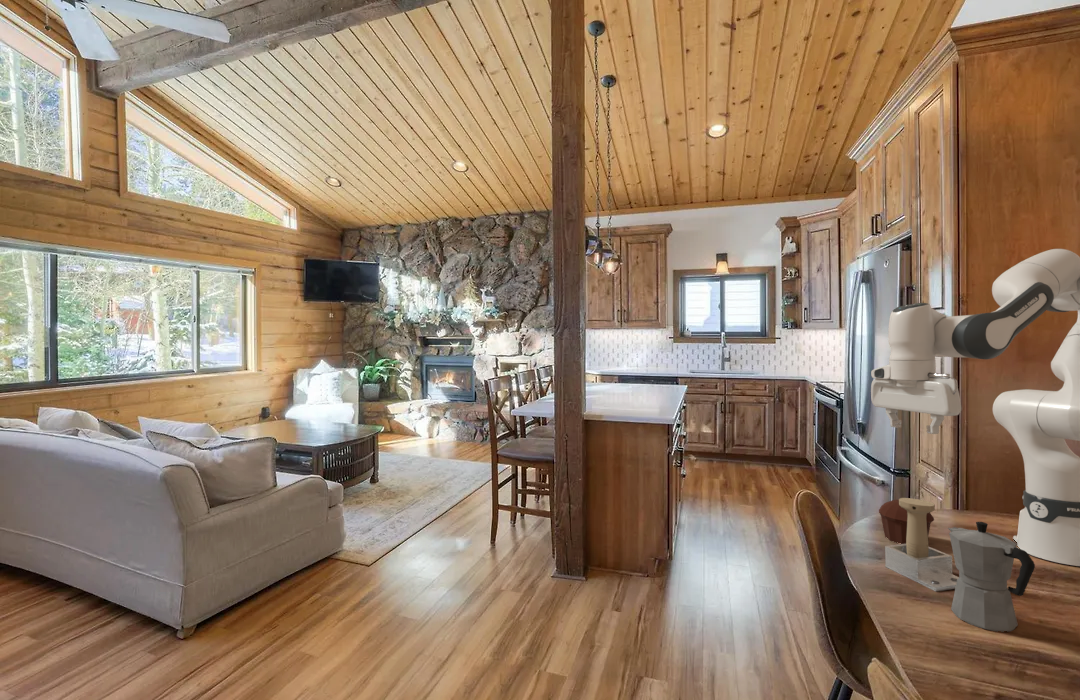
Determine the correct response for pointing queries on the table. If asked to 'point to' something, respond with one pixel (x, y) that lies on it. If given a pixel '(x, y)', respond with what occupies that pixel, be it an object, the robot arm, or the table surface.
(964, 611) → the coffeepot
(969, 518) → the table surface
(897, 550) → the flanged open box
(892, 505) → the muffin
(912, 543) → the handle
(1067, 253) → the robot arm
